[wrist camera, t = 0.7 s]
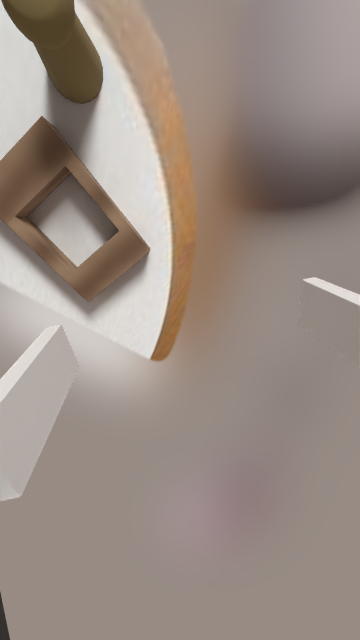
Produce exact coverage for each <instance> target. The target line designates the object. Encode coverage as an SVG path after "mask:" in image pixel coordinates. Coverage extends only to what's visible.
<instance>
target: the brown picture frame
mask: <svg viewBox="0 0 360 640" xmlns="http://www.w3.org/2000/svg"><path fill="white" fill-rule="evenodd" d="M70 173H72V174H73V176H74V177H75V178H76V179H77V180H78V182H79V183H80V184H81V185H82V186H83V188H84V189H85V190H86V191H87V192H88V194H89V195H90V196H91V197H92V198H93V200H94V201H95V202H96V203H97V204H98V206H99V207H100V208H101V209H102V210H103V212H104V213H105V214H106V215H107V217H108V218H109V219H110V220H111V221H112V223H113V224H114V225H115V226H116V227H117V229H118V230H119V232H117V233H116V234H115V235H114V236H113V237H112V238H111V239H109V240H108V241H107V242H106V243H105V244H104V245H103V246H101V247H100V248H99V249H98V250H97V251H96V252H95V253H93V254H92V255H91V256H90V257H89V258H88V259H87V260H85V261H84V262H83V263H82V264H81V265H80V266H79V267H76V266H75V265H74V264H73V263H72V262H71V261H70V260H69V259H68V258H67V257H66V255H65V254H64V253H63V252H62V251H61V250H60V249H59V248H58V247H57V246H56V245H55V244H54V243H53V242H52V241H51V240H50V239H49V238H48V237H47V236H46V235H45V234H44V233H43V232H42V231H41V230H40V229H39V228H38V227H37V226H36V225H35V224H34V223H33V222H32V221H31V220H30V219H29V218H28V217H27V216H28V215H29V214H30V213H31V212H32V211H33V210H34V209H35V208H36V207H37V206H38V205H39V204H40V203H41V202H42V201H43V200H44V199H45V198H46V197H47V196H48V195H49V194H50V193H51V192H52V191H53V190H54V189H55V188H56V187H57V186H58V185H59V184H60V183H61V182H62V181H63V180H64V179H65V178H66V177H67V176H68V175H69V174H70ZM0 218H1V219H2V220H3V221H4V222H5V223H6V224H7V225H8V226H9V227H10V228H11V229H12V230H13V231H14V232H15V233H16V234H17V235H18V236H19V237H20V238H22V239H23V240H24V241H25V242H26V243H27V244H28V245H29V246H30V247H31V248H32V249H33V250H34V251H35V252H36V253H37V254H38V255H39V256H40V257H41V258H42V259H43V260H45V261H46V262H47V263H48V264H49V265H50V266H51V267H52V268H53V269H54V270H55V271H56V272H57V273H58V274H59V275H60V276H61V277H62V278H63V279H64V280H65V281H67V282H68V283H69V284H70V285H71V286H72V287H73V288H74V289H75V290H76V291H77V292H78V293H79V294H80V295H81V296H82V297H83V298H84V299H85V300H86V301H87V302H89V301H90V300H92V299H93V298H94V297H95V296H96V295H98V294H99V293H100V292H101V291H103V290H104V289H105V288H106V287H107V286H109V285H110V284H111V283H112V282H113V281H115V280H116V279H117V278H118V277H119V276H121V275H122V274H123V273H124V272H125V271H127V270H128V269H129V268H130V267H131V266H133V265H134V264H135V263H136V262H137V261H139V260H140V259H141V258H142V257H144V256H145V255H146V254H147V253H148V252H150V247H149V246H148V245H147V244H146V242H145V241H144V240H143V239H142V237H141V236H140V235H139V234H138V232H137V231H136V230H135V229H134V227H133V226H132V225H131V224H130V222H129V221H128V220H127V219H126V217H125V216H124V215H123V213H122V212H121V211H120V210H119V208H118V207H117V206H116V205H115V203H114V202H113V201H112V200H111V198H110V197H109V196H108V195H107V193H106V192H105V191H104V190H103V188H102V187H101V186H100V185H99V183H98V182H97V181H96V179H95V178H94V177H93V176H92V174H91V173H90V172H89V171H88V169H87V168H86V167H85V166H84V164H83V163H82V162H81V161H80V159H79V158H78V157H77V156H76V154H75V153H74V152H73V150H72V149H71V148H70V147H69V145H68V144H67V143H66V142H65V140H64V139H63V138H62V137H61V135H60V134H59V133H58V132H57V130H56V129H55V128H54V127H53V125H51V124H50V123H49V122H48V121H47V120H46V119H45V118H44V117H43V116H41V117H40V118H39V120H38V121H37V122H36V123H35V124H34V125H33V126H32V127H31V128H30V129H29V130H28V131H27V133H26V134H25V135H24V136H23V137H22V138H21V139H20V140H19V141H18V142H17V143H16V145H15V146H14V147H13V148H12V149H11V150H10V151H9V152H8V153H7V154H6V155H5V156H4V158H3V159H2V160H1V161H0Z"/></svg>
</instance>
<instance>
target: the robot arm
mask: <svg viewBox="0 0 360 640" xmlns="http://www.w3.org/2000/svg"><path fill="white" fill-rule="evenodd" d="M298 324H299V325H300V326H301V327H303V328H304V329H305V330H306V331H308V332H309V333H310V334H312V335H313V336H314V337H316V338H317V339H318V340H320V341H321V342H322V343H324V344H325V345H327V346H328V347H329V348H330V349H332V350H333V351H334V352H336V353H337V354H338V355H340V356H341V357H342V358H344V359H345V360H346V361H347V362H349V363H350V364H351V365H353V366H354V367H355V368H357V369H358V370H359V371H360V295H359V294H356V293H354V292H351V291H349V290H346V289H344V288H341V287H339V286H336V285H333V284H331V283H328V282H326V281H323V280H321V279H318V278H316V277H314V278H309V279H304V280H302V286H301V296H300V306H299V316H298ZM78 369H79V364H78V361H77V359H76V357H75V355H74V352H73V350H72V348H71V345H70V343H69V341H68V339H67V336H66V334H65V332H64V329H63V327H62V325H57V326H51V327H47V328H46V329H45V330H44V331H43V332H42V333H41V335H39V337H38V338H37V339H36V340H35V341H34V342H33V343H32V345H31V346H30V347H29V348H28V349H27V350H26V351H25V352H24V354H23V355H22V356H21V357H20V358H19V359H18V360H17V361H16V362H15V364H14V365H13V366H12V367H11V368H10V369H9V370H8V371H7V373H6V374H5V375H4V376H3V377H2V378H1V379H0V501H4V500H8V499H13V498H18V497H21V495H22V493H23V491H24V489H25V486H26V484H27V482H28V480H29V477H30V475H31V473H32V471H33V469H34V466H35V464H36V462H37V460H38V458H39V455H40V453H41V451H42V449H43V447H44V444H45V442H46V440H47V438H48V435H49V433H50V431H51V429H52V427H53V424H54V422H55V420H56V417H57V415H58V413H59V411H60V409H61V407H62V404H63V402H64V400H65V398H66V396H67V393H68V391H69V389H70V387H71V384H72V382H73V380H74V378H75V376H76V373H77V371H78ZM0 640H10V638H9V633H8V628H7V623H6V618H5V613H4V608H3V604H2V598H1V593H0Z"/></svg>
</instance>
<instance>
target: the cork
mask: <svg viewBox="0 0 360 640" xmlns="http://www.w3.org/2000/svg"><path fill="white" fill-rule="evenodd" d="M2 3H3V5H4V8H5V10H6V11H7V13H8V15H9V16H10V18H11V20H12V21H13V23H14V24H15V25H16V27H17V28H18V29H19V30H20V31H21V32H22V33H23V34H24V35H25V36H26V38H27V39H29V40H30V41H32V42H33V43H34V45H35V47H36V49H37V51H38V54H39V56H40V58H41V60H42V62H43V64H44V66H45V68H46V70H47V72H48V74H49V76H50V78H51V80H52V82H53V83H54V85H55V87H56V88H57V90H58V91H59V92H60V93H61V94H62V95H63V96H64V97H65V98H67V99H69V100H70V101H72V102H76V103H81V104H82V103H86V102H90V101H91V100H93V99H94V98H95V97H96V96H97V94H98V93H99V91H100V89H101V86H102V81H103V67H102V64H101V60H100V56H99V54H98V52H97V50H96V49H95V47H94V45H93V43H92V41H91V40H90V38H89V36H88V34H87V32H86V31H85V29H84V27H83V25H82V24H81V22H80V20H79V18H78V17H77V15H76V13H75V10H74V0H2Z"/></svg>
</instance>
